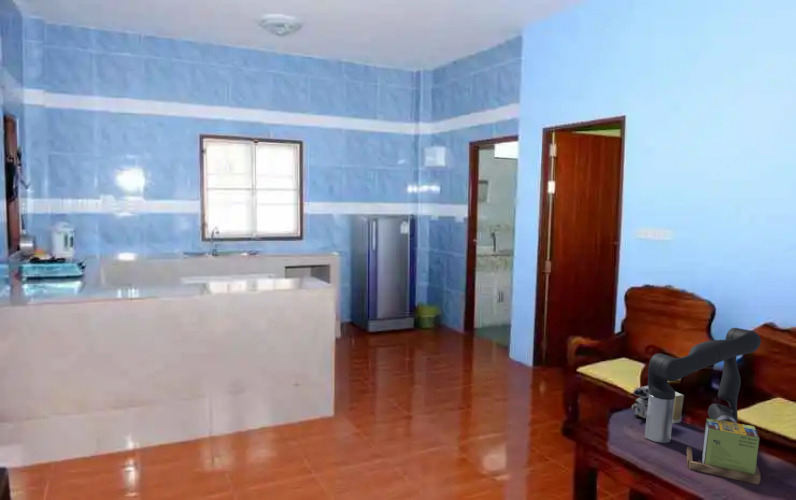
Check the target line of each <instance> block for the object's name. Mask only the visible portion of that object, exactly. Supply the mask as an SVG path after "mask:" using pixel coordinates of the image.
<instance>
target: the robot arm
mask: <svg viewBox="0 0 796 500" xmlns="http://www.w3.org/2000/svg"><path fill="white" fill-rule="evenodd" d="M725 335H726V336H725V339H713V340H707V341H704V342H700V343H697V344H695V345H694V346H692V347H691V349H690V350H689V352H688V355H685V356H683V357H679V358H678V357H673V356H669V355H667V354H663V353H655V354H653V355H652V356H651V358H650V360H649V363H648V373H647V386H648V388H649V399H648V409H647V418H645V419H646V421H645V430H644V438H645V439H647V440H649V441H652V442H655V443H662V444H668V443H670V442H671V440H672V439H671V437H672V427H673V423H672V420H673V411H674V401H675V392H676V391H675V389H674V388H673V387H672V386H671V385H670V384H669V382H670V383H671V382H676V381H677V382H678V381H679V380H681V379H683V378H685V377H686V376H688V375H690V374H692V373H694V372H698V371H699V370H702V369H705V368H708V367H711V366H714V365H716V364H718V363H721V362H723V367H722V375H721V379H720V380H721V381H720V383H719V388H718V392H717V396H718V398H719V399H722V400H724V401H726V402H727V403H728V405H729V406H728V405H723V404H720V403H711V404H710V405H709V407H708V410H707V415H708V417H709V418H708V419H715V420H720V421H726V422H732V423H737V422H738V417H739V416H738V396H739V392H740V389H741V385H742V384H741V382H742V381H741V380H742V379H741V375H740V372H739V368H738V363H737V357H738V356H743V355H747V354H752V353H754V352H756V351H757V350H758V349H759V347H760V346H761V341H762V340H761V336H760V335H759V334H758V333H757V332H755V331H753V330H750V329H746V328H745V329H744V328H739V327H731V328H729V330H728V331H727V333H726V334H725Z"/></svg>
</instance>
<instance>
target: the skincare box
mask: <svg viewBox="0 0 796 500" xmlns="http://www.w3.org/2000/svg"><path fill="white" fill-rule="evenodd" d="M684 398H685V395H684V394H682V393H679V392H677V391H675V401H674V411H673V420H672V424H679V423H681V421H682V413H683V412H682V411H683V406H684V405H683V404H684Z"/></svg>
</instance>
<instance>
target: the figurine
mask: <svg viewBox="0 0 796 500" xmlns="http://www.w3.org/2000/svg"><path fill="white" fill-rule="evenodd" d="M633 395H635V396H638V398H636V399H635V403H633V404H632V405H631V411H634V409H635V412H634V415H633V416H634V418H636V419H637V418H644V419H646V418H647V409H648V399H649V388H648V385H644V386H643V384H642V385H641V386H640V387H638V388H636V389H635V390H634V391H633Z"/></svg>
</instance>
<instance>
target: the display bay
mask: <svg viewBox="0 0 796 500" xmlns="http://www.w3.org/2000/svg"><path fill="white" fill-rule="evenodd" d="M686 454H687V456H686V466H687V468H688V470H691V471H696V470H697V471H696V472H700V471H701V473H706V474H709V473H710V475H714V476H718V477H719V476H720V477H723V478H728V479H731V480H736V481H740V482H745V483H750V484H753V485H760V484H761V479H762V476H761V475H762V474H761V472H760V469H759V466H758V464H757V462H756V469H755V475H754V474H749V473H745V472H740V471H736V470H731V469H726V468H722V467H717V466H713V465H708V464H704V463H702V462H699V461H693V449H692V447H691V446H686Z"/></svg>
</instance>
